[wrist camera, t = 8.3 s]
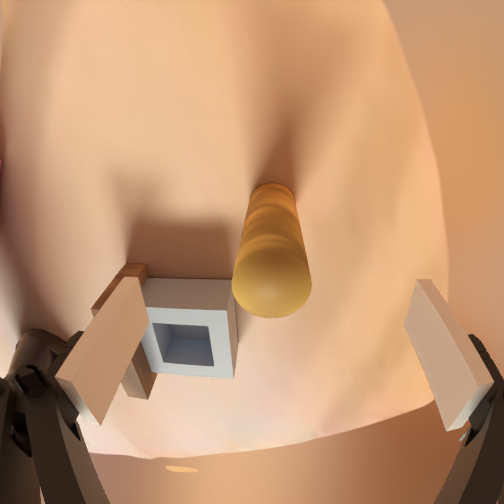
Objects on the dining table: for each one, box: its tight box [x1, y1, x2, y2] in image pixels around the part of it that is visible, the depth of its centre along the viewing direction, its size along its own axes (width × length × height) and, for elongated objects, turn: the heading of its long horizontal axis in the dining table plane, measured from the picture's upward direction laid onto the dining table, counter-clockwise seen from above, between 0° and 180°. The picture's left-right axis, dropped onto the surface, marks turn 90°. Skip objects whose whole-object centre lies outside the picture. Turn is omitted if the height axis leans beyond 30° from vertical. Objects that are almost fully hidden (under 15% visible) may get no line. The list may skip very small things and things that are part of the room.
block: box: [141, 278, 238, 379], centre depth 31 cm, size 9×9×5 cm
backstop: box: [91, 264, 157, 400], centre depth 30 cm, size 2×12×8 cm, turn 2°
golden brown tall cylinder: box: [232, 183, 312, 318], centre depth 21 cm, size 4×4×13 cm
